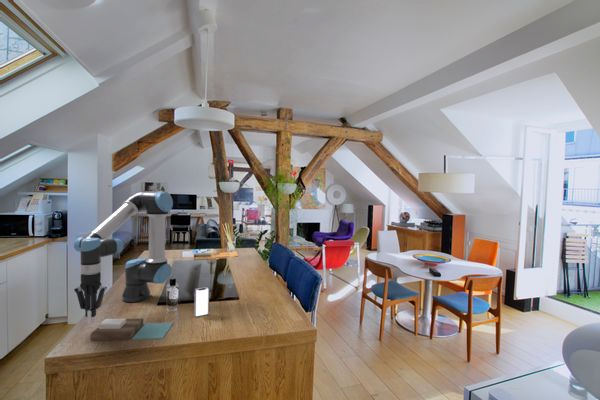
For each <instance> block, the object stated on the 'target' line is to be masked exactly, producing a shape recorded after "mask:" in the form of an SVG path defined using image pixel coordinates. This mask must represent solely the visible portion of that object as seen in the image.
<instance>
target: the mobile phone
mask: <svg viewBox="0 0 600 400" xmlns="http://www.w3.org/2000/svg"><path fill="white" fill-rule="evenodd" d="M193 307H194V317H195V318H197V317H198V318H200V317H203V316H207V315H209V312H210V288H209V287H208V286H206V287H199V288H195V290H194V306H193Z"/></svg>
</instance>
